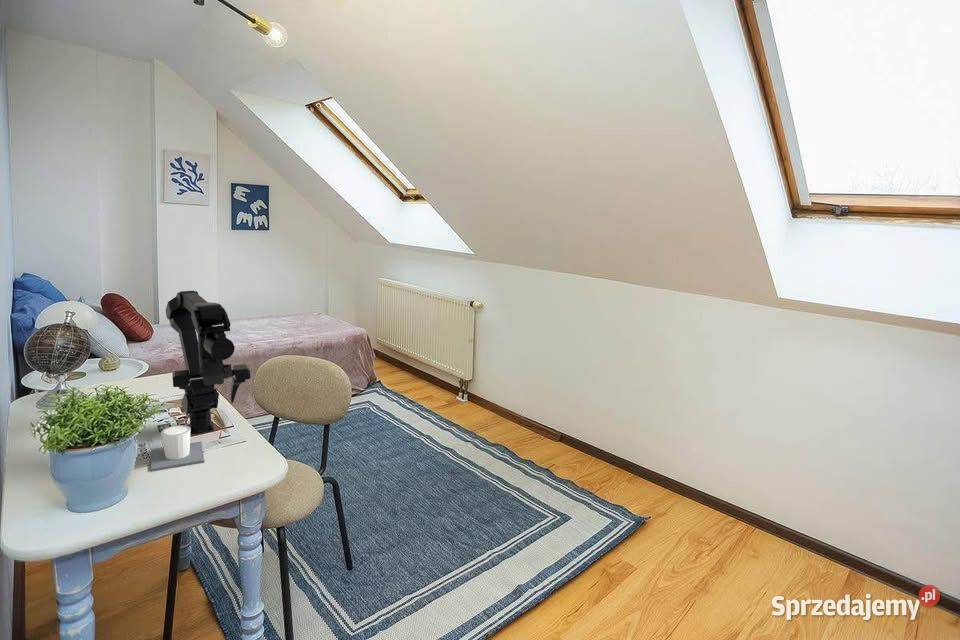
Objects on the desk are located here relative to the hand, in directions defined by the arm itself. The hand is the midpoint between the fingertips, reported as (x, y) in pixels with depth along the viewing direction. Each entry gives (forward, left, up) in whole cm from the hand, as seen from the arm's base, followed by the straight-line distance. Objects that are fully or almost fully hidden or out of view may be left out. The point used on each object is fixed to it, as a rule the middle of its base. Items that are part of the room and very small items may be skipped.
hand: (213, 404), depth 149 cm
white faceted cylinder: (+3, -9, -12) cm, 15 cm away
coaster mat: (+3, -10, -12) cm, 16 cm away
